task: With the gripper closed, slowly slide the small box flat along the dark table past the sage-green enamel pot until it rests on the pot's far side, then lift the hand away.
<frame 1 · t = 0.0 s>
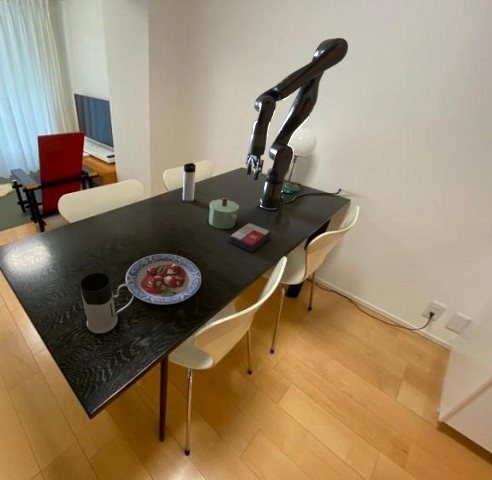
hand: (251, 177, 133), 17 cm above the table, tool pointing down, fingers open, 8 cm apart
ceramic plate: (163, 281, 92), on the table
travel mug: (188, 199, 149), on the table
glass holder: (112, 320, 77), on the table
pot lid: (224, 206, 123), point 8 cm above the table, touching pot
pot: (221, 222, 128), on the table
small box: (249, 240, 115), on the table
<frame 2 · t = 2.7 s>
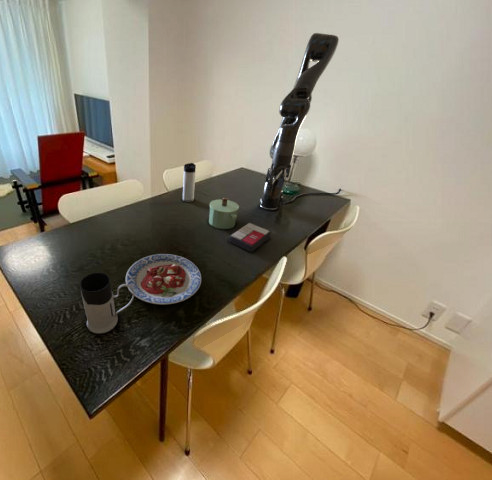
hand: (274, 189, 118), 18 cm above the table, tool pointing down, fingers open, 8 cm apart
nothing on the table moved.
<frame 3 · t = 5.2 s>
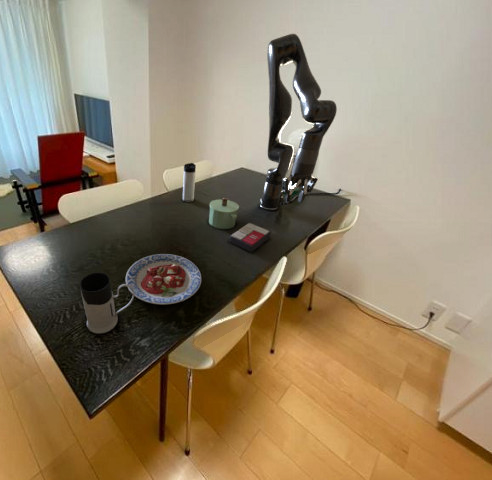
hand: (293, 201, 108), 17 cm above the table, tool pointing down, fingers open, 5 cm apart
nothing on the table moved.
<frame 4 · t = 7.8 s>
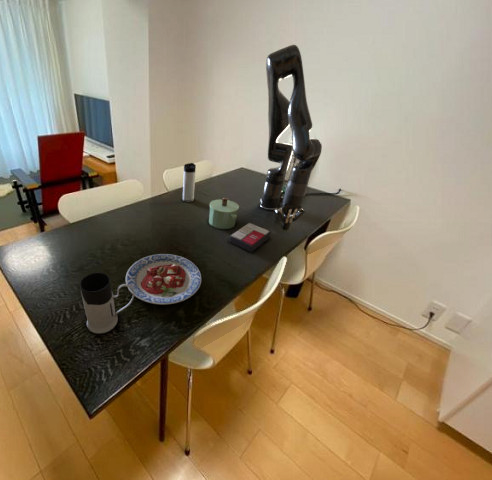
hand: (284, 229, 115), 4 cm above the table, tool pointing down, fingers closed
nothing on the table moved.
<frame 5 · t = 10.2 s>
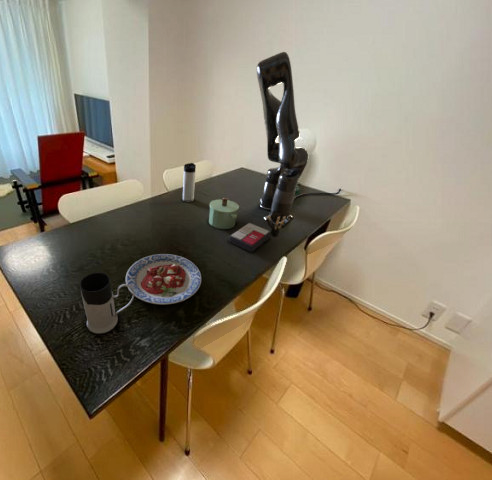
hand: (273, 235, 115), 2 cm above the table, tool pointing down, fingers closed
small box: (249, 240, 115), on the table, touching gripper
everything else where it was.
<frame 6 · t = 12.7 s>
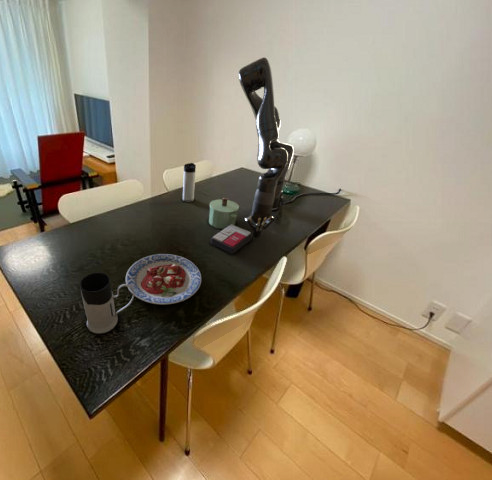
hand: (256, 237, 114), 2 cm above the table, tool pointing down, fingers closed
small box: (230, 242, 113), on the table, touching gripper
everything else where it was.
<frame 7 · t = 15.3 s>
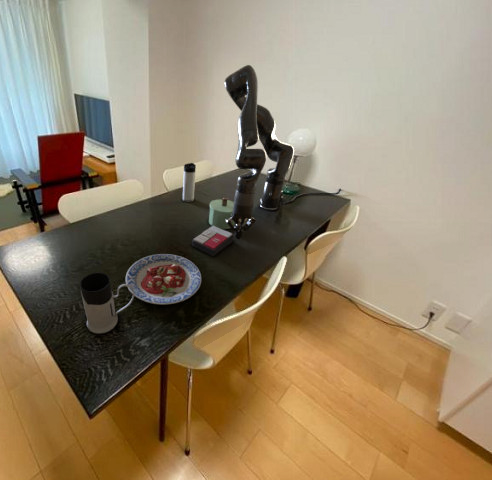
hand: (237, 238, 113), 2 cm above the table, tool pointing down, fingers closed
small box: (212, 244, 112), on the table, touching gripper
everything else where it was.
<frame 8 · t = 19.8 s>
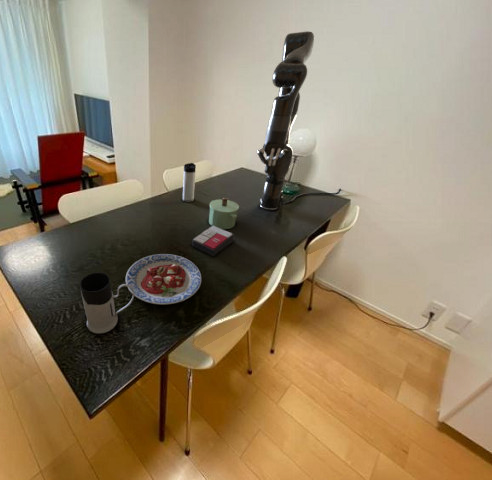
hand: (268, 174, 107), 27 cm above the table, tool pointing down, fingers closed
small box: (212, 244, 112), on the table
everything else where it was.
at the end: small box inside the target area (1.3 cm from its centre), on the table; small box tilted 0°; small box touching table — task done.
